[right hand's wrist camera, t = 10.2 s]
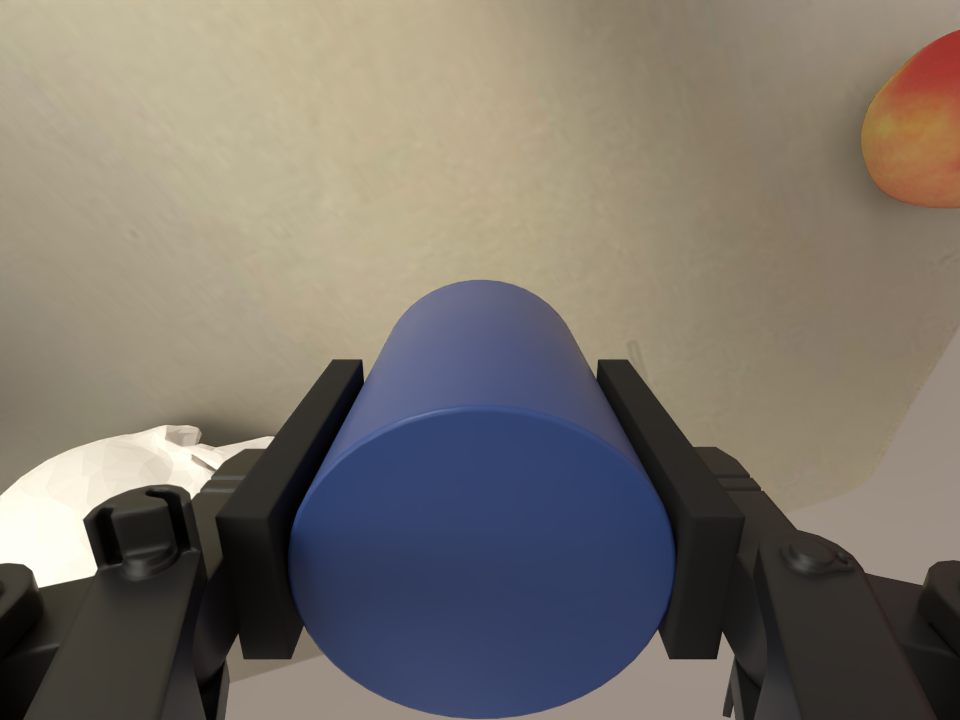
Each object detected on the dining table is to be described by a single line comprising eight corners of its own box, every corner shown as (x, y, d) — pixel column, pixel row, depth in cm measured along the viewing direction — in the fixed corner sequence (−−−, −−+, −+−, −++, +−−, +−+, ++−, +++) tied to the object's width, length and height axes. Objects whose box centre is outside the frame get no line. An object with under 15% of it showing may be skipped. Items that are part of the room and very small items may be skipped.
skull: (373, 554, 45) (320, 741, 29) (108, 553, 44) (-82, 740, 29) (364, 406, 41) (297, 534, 25) (73, 404, 40) (-169, 532, 25)
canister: (410, 479, 18) (352, 744, 10) (356, 304, 16) (225, 454, 8) (593, 444, 17) (693, 691, 9) (562, 258, 15) (655, 366, 7)
